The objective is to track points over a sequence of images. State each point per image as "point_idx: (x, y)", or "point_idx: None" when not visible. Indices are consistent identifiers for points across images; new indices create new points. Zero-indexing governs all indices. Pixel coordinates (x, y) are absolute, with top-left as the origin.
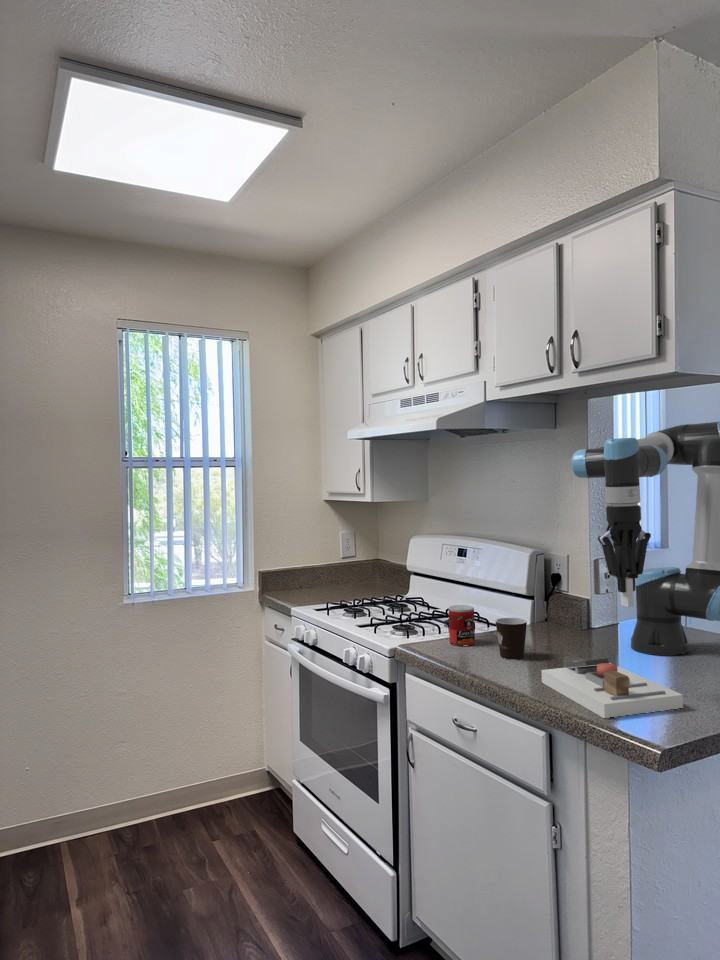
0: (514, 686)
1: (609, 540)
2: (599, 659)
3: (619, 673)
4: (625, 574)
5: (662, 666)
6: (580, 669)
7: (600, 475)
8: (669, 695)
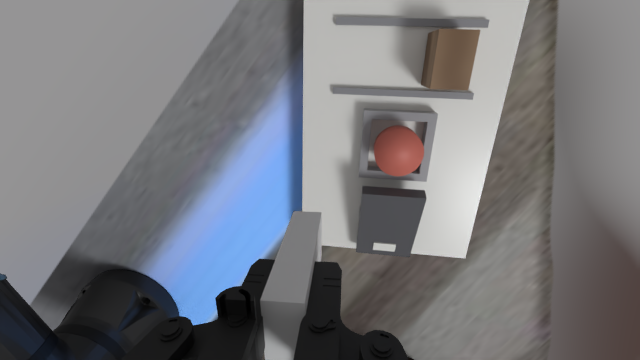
0: (524, 243)
1: None
2: (386, 194)
3: (439, 63)
4: (309, 334)
5: (184, 233)
6: None
7: None
8: (335, 2)
